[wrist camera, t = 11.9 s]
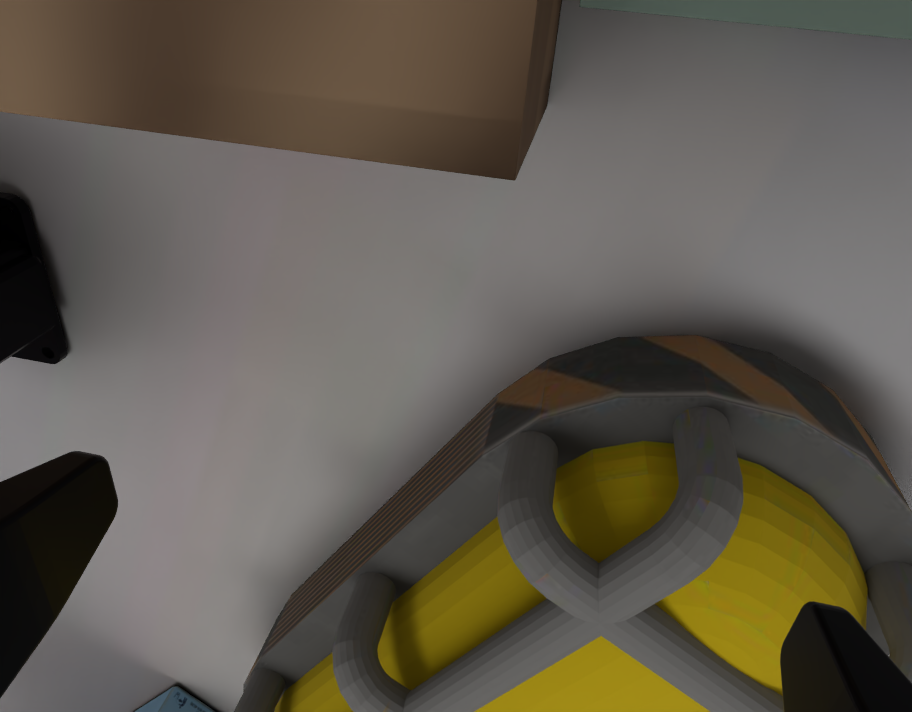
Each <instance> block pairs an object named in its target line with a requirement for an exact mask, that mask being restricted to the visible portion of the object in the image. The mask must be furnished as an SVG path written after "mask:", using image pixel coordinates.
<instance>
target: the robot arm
mask: <svg viewBox="0 0 912 712" xmlns="http://www.w3.org/2000/svg"><path fill="white" fill-rule="evenodd" d="M10 208H11V209H13V211H14V213H15V214H14V213H13V212H12V211H11V209H10ZM67 354H68V353H67V347H66V343H65V339H64V336H63V332H62V328H61V324H60V321H59V317H58V313H57V310H56V306H55V302H54V298H53V295H52V291H51V287H50V284H49V280H48V276H47V272H46V269H45V265H44V261H43V258H42V254H41V250H40V246H39V243H38V239H37V235H36V232H35V228H34V224H33V220H32V217H31V213H30V210H29V208H28V205H27V204H26V203H25V201H24V200H23V199H21V198H20V197H19V196H16V195H13V194H8V193H1V192H0V363H2V362H3V361H5V360H6V359H8V358H9V357H11V356H12V357H17V358H22V359H28V360H33V361H39V362H44V363H49V364H56V363H58V362H60V361H61V360H62V359H64V358H65V357H66V356H67ZM117 508H118V498H117V494H116V490H115V486H114V482H113V478H112V475H111V471H110V467H109V464H108V461H107V460H106V459H105V458H104V457H102V456H100V455H96V454H91V453H86V452H81V451H73V452H70V453H67V454H64V455H62V456H60V457H57V458H55V459H53V460H51V461H48V462H46V463H44V464H41V465H39V466H37V467H34V468H32V469H30V470H27V471H25V472H23V473H20V474H18V475H16V476H13V477H11V478H9V479H6V480H4V481H2V482H0V698H1V697H2V695H3V694H4V692H5V691H6V690H7V688H8V687H9V685H10V684H11V683H12V681H13V680H14V678H15V677H16V675H17V674H18V673H19V671H20V670H21V668H22V667H23V666H24V664H25V663H26V661H27V660H28V659H29V657H30V656H31V654H32V653H33V651H34V650H35V649H36V647H37V646H38V644H39V643H40V642H41V640H42V639H43V637H44V636H45V634H46V633H47V631H48V630H49V628H50V627H51V626H52V624H53V623H54V621H55V620H56V618H57V616H58V615H59V613H60V611H61V610H62V608H63V607H64V605H65V603H66V602H67V600H68V598H69V596H70V595H71V593H72V591H73V589H74V588H75V586H76V584H77V583H78V581H79V579H80V577H81V576H82V574H83V572H84V570H85V569H86V567H87V565H88V563H89V562H90V560H91V558H92V556H93V555H94V553H95V551H96V549H97V548H98V546H99V544H100V542H101V541H102V539H103V537H104V535H105V534H106V532H107V530H108V528H109V527H110V525H111V523H112V521H113V520H114V517H115V515H116V512H117ZM780 668H781V681H782V693H783V705H784V712H912V682H911V681H910V680H909V679H908V678H907V677H906V675H905V674H904V673H903V672H902V671H901V670H900V669H899V668H898V666H897V665H896V664H895V663H894V662H893V661H892V660H891V658H890V657H889V656H888V655H887V654H886V653H885V652H884V651H883V649H882V648H881V647H880V646H879V645H878V644H877V643H876V641H875V640H874V639H873V638H872V637H871V636H870V635H869V634H868V632H867V631H866V630H865V629H864V628H863V627H862V626H861V624H860V623H859V622H858V621H857V620H856V619H855V618H854V617H853V615H852V614H851V613H850V612H848V611H847V610H846V609H844V608H842V607H838V606H834V605H829V604H824V603H819V602H814V601H810V602H807V603H806V604H804V605H803V607H802V608H801V610H800V612H799V613H798V615H797V617H796V619H795V621H794V623H793V625H792V627H791V628H790V630H789V632H788V634H787V636H786V638H785V640H784V642H783V644H782V648H781V654H780Z"/></svg>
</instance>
